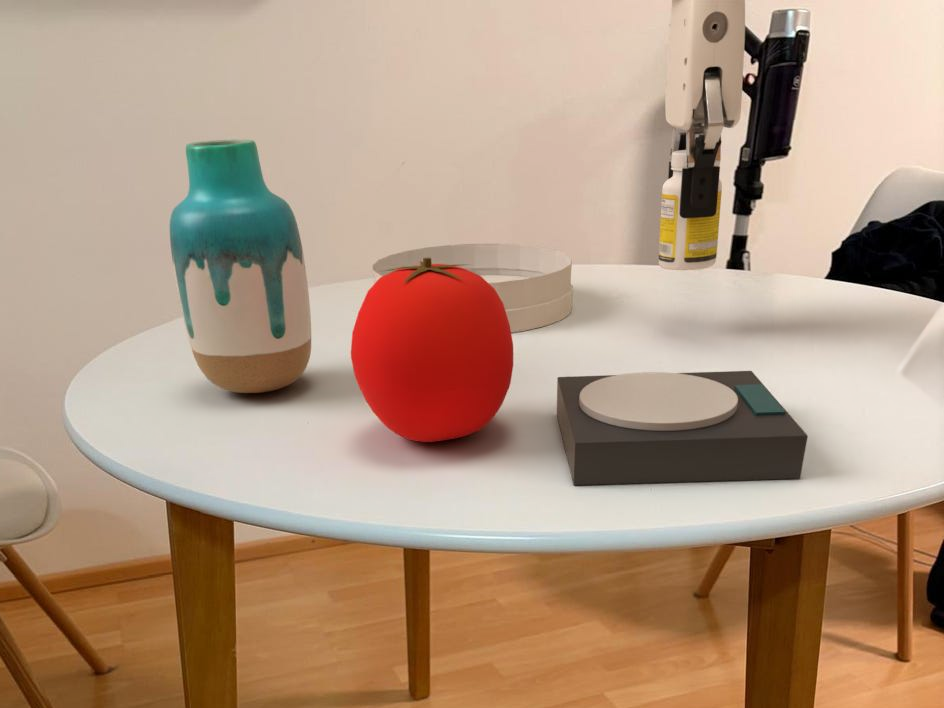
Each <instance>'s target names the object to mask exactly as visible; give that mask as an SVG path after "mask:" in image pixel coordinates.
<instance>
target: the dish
mask: <svg viewBox="0 0 944 708" xmlns="http://www.w3.org/2000/svg"><path fill="white" fill-rule="evenodd" d="M423 258H431V264H447V265H461V266H457V267H461V268H464V269H466V270H468V271H470V272H473V273H475V274H477V275H479V276H481V277H482V278H483V279H484V280H485V281H487V282H488V283H489V284H490V285H491V286H492V287H493V288H494V289H495V290H496V292H497V294H498V296H499V297H500V299H501V301H502V302H503V304H504V308H505V311H506V314H507V318H508V321H509V324H510V329H511V334H513V333H518V332H519V333H520V332H525V331H529V330H530V331H531V330H533V329H539V328H543V327H547V326H550V325H552V324H554V323H558V322H560V321H563V320H564V319H565V318H567V317H568V316H569V315H570V314H571V313H572V308H573V291H574V290H573V287H574V285H573V284H572V264H573V259H572V257H570V255H568V254H567V253H565V252H562V251H560V250H557V249H552V248H549V247H543V246H538V245H530V244H529V245H528V244H516V243H461V244H446V245H438V246H427V247H421V248H416V249H411V250H405V251H401V252H397V253H393V254H389V255H388V256H385V257H382V258H380V259H378V260H377V261H376V262H374V263H373V264H372V273H373V285H374V284H375V283H376V282H377V280H378V279H379V278H381V277H382V276H385V275H387V274H389V273H391V272H393V271H395V270H390V269H395V268H400V267H411V266H419V265H421V263H420V261H422V262H423ZM470 264H471V265H470ZM385 270H389V271H385ZM396 270H397V269H396Z"/></svg>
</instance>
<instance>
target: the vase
mask: <svg viewBox="0 0 944 708" xmlns="http://www.w3.org/2000/svg"><path fill="white" fill-rule="evenodd" d="M185 157H186V164H187V173H188V184H189V185H188V191H187V195H186V196H185V198H184V199H183V200H181V201H180V202H179V203H178V204H177V205H176V206H174V208H173V209H172V211H171V214H170V219H169V242H170V252H171V259H172V267H173V273H174V278H175V284H176V290H177V294H178V300H179V301H178V302H179V305H180V310H181V314H182V319H183V323H184V327H185V331H186V336H187V338H188V342H189V345H190V348H191V352H192V354H193V358H194V360H195V362H196V364H197V367H198V369H199V370H200V371H201V373H202V374H203V375H204V376H205V378H206V379H207V380H208V381H209V382H210V383H212V384H213V385H215V386H216V387H218V388H220V389H222V390H225V391H229V392H234V393H240V394H261V393H267V392H272V391H276V390H279V389H282V388H285V387H287V386H289V385H291V384H293V383H295V382H296V381H297V380H298V379H299V378H300V377H301V376H302V375H303V374H304V372H305V370H306V369H307V367H308V364H309V362H310V360H311V359H310V358H311V355H312V354H311V353H312V318H311V317H312V315H311V302H310V293H309V286H308V277H307V269H306V262H305V257H304V256H305V255H304V249H303V245H302V239H301V235H300V230H299V227H298V223H297V219H296V216H295V213H294V211H293V209H292V208H291V206H290V205H289V203H288V202H287V201H286V200H285V199H284V198H282V197H280V196H278V195H277V194H275V193H273V192H272V191H271V190H270V189H269V188H268V186H267V184H266V182H265V180H264V175H263V171H262V167H261V162H260V157H259V150H258V146H257V143H256V141H255V140H253V139H219V140H218V139H216V140H215V139H214V140H201V141H195V142H191V143H187V144H186V145H185Z"/></svg>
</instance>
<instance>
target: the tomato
mask: <svg viewBox="0 0 944 708" xmlns="http://www.w3.org/2000/svg"><path fill="white" fill-rule="evenodd" d="M420 263H421V265H419V266H411V267H400V268H395V269H390V270H395V271H393V272H391V273H389V274H387V275H385V276H382V277H381V278H379V279H378V280H377V282H376V283H375V284H374V283H373V285H372V286H371V287H370V288H369V289H368V290H367V292H366V295H365V297H364V299H363V301H362V304H361V306H360V308H359V310H358V313H357V316H356V319H355V323H354V326H353V329H352V333H351V346H350V359H351V364H352V368H353V374H354V377H355V381H356V383H357V385H358V388H359V390H360V392H361V394H362V396H363V398H364V400H365V401H366V403H367V405H368V406H369V408H370V410H371V411H372V413H373V415H375V416H376V417H377V418H378V419H379V420H380V422H381V423H382V424H383V425H384V426H385V427H386V428H387V429H389V431H391V432H393V433H394V434H396V435H398V436H399V437H402V438H404V439H406V440H410V441H415V442H422V443H436V442H441V441H442V442H443V441H447V440H448V441H449V440H453V439H459V438H463V437H466V436H468V435H471V434H473V433H476V432H478V431H480V430H482V429H484V428H485V426H486V425H488V423H490V422H491V421H492V420H493V418H494V417H495V416H496V414H497V413H498V412H499V410H500V409H501V407H502V405H503V403H504V401H505V399H506V396H507V395H508V392H509V389H510V386H511V382H512V375H513V370H514V341H513V336H512V333H511V329H510V324H509V321H508V318H507V314H506V311H505V308H504V304H503V302H502V301H501V299H500V297H499V296H498V294H497V292H496V290H495V289H494V288H493V287H492V286H491V285H490V284H489V283H488V282H487V281H485V280H484V279H483V278H482V277H481V276H479V275H477V274H475V273H473V272H470V271H468V270H466V269H464V268H461V267H457V266H461V265H447V264H431V258H423V262H422V261H420ZM470 265H471V264H470ZM396 269H397V270H396ZM385 271H389V270H385Z"/></svg>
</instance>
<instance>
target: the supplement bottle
mask: <svg viewBox="0 0 944 708" xmlns="http://www.w3.org/2000/svg"><path fill="white" fill-rule="evenodd" d="M670 162H671V167H672V168H671V169H672V170H673V176H672V177H671V178H670V179H668V178H667V180H665V182H664V183H663V185H662V188H661V204H660V205H661V206H660V222H659V223H660V225H659V227H660V228H659V243H658V265H659V267H660V268H663V269H665V270H668V271H669V270H670V271H697V270H704V269H708V268H712V267H713V266H714V265H715V264H716V263H717V255H718V244H719V242H718V241H719V228H720V217H721V216H720V214H721V205H722V204H721V203H722V194H723V193H722V191H723V184H722V181H721V179H720V178H719V185H718V197H717V209H716V214H715V215H714V216H712V217H698V218H682V217H681V216H680V214H679V212H680V196H681V181H682V168H686V150H680V151H674V152H672V159H671V160H670Z"/></svg>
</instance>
